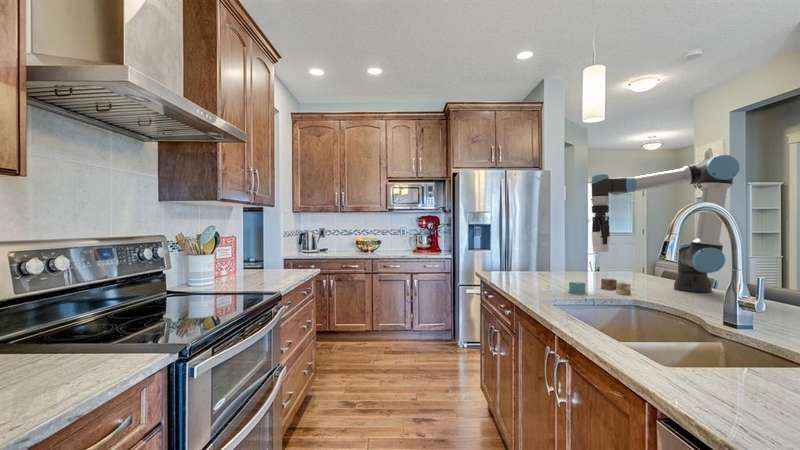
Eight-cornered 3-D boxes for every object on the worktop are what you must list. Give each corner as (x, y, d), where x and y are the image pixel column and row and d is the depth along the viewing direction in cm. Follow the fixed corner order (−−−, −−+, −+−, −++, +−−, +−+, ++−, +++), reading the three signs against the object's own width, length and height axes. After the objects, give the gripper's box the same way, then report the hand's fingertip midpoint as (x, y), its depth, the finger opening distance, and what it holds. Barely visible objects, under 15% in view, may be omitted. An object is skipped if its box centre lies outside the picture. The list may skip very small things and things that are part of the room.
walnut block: (610, 288, 197) (610, 278, 197) (616, 289, 192) (616, 279, 192) (601, 288, 197) (601, 278, 197) (607, 289, 192) (607, 280, 192)
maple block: (628, 292, 183) (628, 282, 183) (630, 294, 178) (630, 284, 178) (616, 292, 185) (616, 282, 185) (618, 294, 180) (618, 283, 180)
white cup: (612, 251, 189) (612, 231, 189) (604, 252, 185) (604, 232, 185) (597, 251, 196) (596, 231, 196) (588, 251, 191) (588, 232, 191)
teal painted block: (577, 291, 188) (577, 281, 188) (585, 293, 183) (585, 282, 183) (569, 292, 186) (569, 282, 186) (577, 294, 181) (577, 283, 181)
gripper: (584, 206, 201) (585, 249, 201) (601, 204, 181) (601, 251, 180) (599, 205, 200) (599, 249, 200) (617, 203, 180) (618, 251, 180)
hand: (600, 250), depth 190 cm, fingers closed on white cup, 7 cm apart
